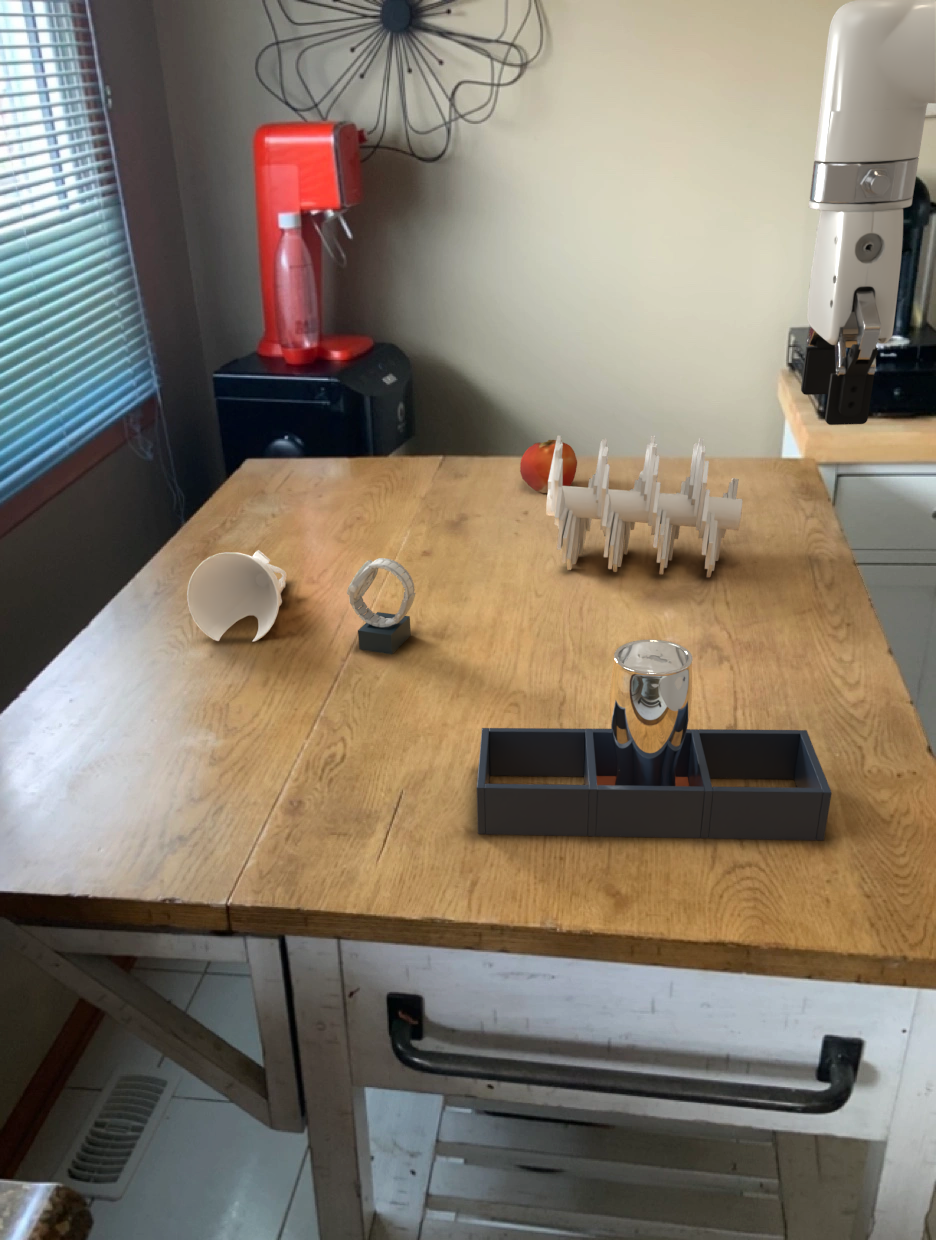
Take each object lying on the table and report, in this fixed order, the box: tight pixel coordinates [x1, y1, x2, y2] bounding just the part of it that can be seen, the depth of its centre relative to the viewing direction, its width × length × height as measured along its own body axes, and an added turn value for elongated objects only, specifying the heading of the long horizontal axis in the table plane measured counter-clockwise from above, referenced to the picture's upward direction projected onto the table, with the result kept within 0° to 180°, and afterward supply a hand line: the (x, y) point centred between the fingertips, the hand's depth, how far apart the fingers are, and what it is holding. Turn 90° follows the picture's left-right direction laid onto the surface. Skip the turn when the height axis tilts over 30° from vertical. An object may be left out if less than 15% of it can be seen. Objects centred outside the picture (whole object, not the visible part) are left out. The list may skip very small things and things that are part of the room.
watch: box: [346, 557, 416, 655], centre depth 134 cm, size 6×8×11 cm
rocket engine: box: [186, 549, 287, 642], centre depth 146 cm, size 12×12×18 cm
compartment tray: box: [476, 727, 833, 841], centre depth 102 cm, size 30×10×6 cm, turn 84°
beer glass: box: [609, 639, 694, 786], centre depth 100 cm, size 7×7×15 cm
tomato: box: [519, 439, 578, 494], centre depth 182 cm, size 9×9×8 cm
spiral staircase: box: [545, 435, 743, 578], centre depth 149 cm, size 18×18×25 cm
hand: (832, 407), depth 96 cm, fingers open, 9 cm apart
